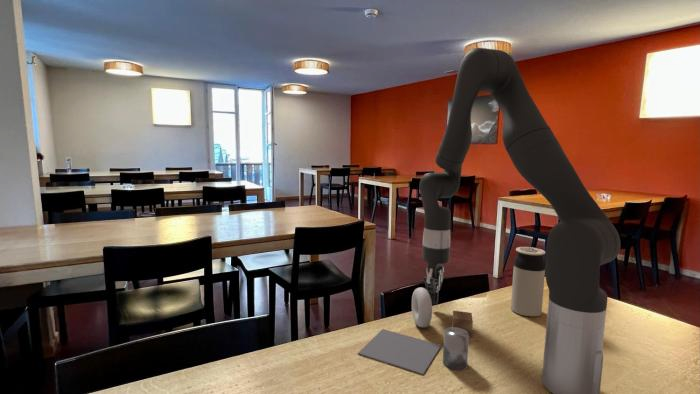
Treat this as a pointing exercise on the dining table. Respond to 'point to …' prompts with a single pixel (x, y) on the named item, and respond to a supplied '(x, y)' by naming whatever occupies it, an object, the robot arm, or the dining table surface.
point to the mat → (401, 351)
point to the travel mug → (528, 281)
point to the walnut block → (463, 321)
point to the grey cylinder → (455, 348)
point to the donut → (421, 307)
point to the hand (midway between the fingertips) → (433, 303)
